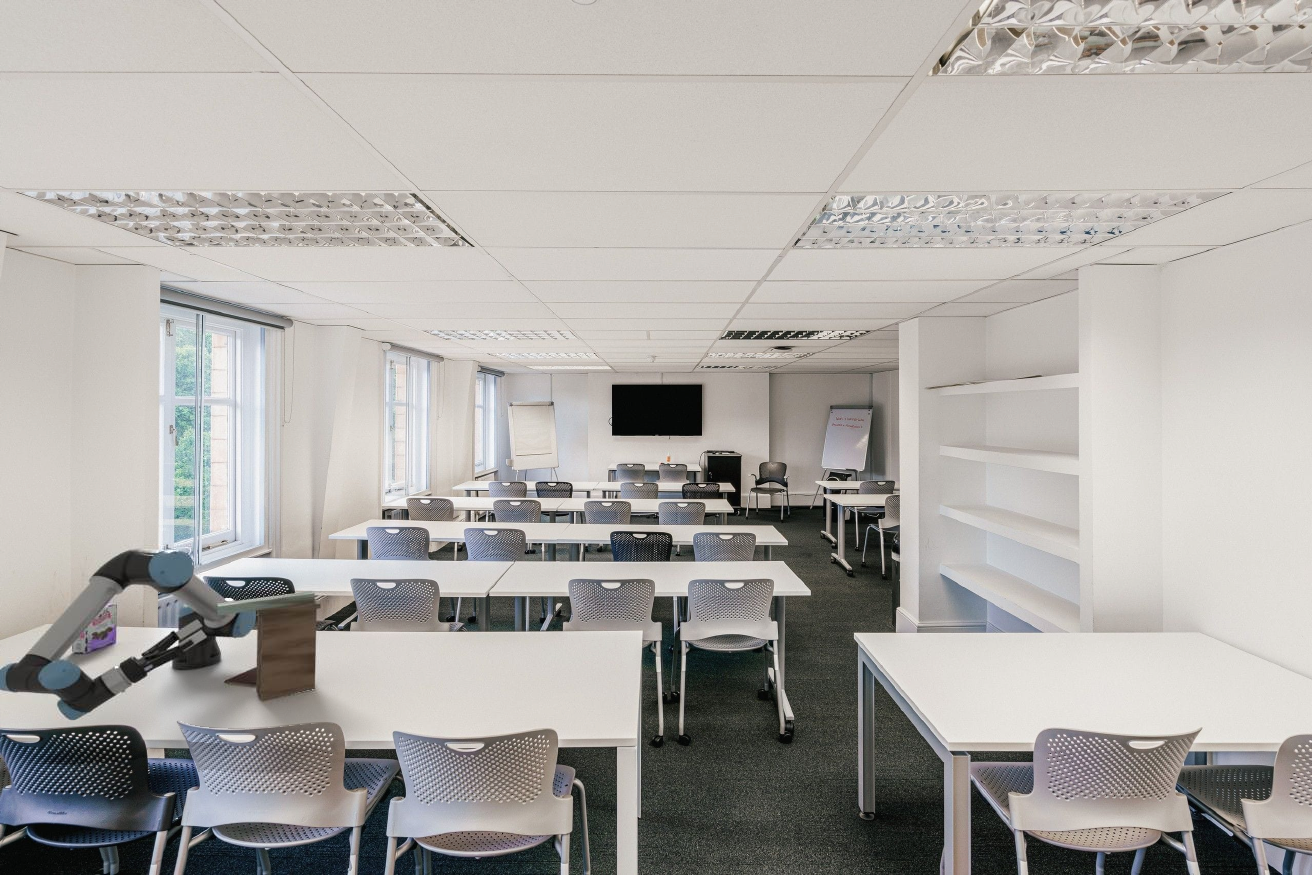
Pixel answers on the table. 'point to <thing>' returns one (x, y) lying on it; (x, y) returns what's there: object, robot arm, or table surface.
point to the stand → (286, 650)
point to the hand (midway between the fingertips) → (202, 627)
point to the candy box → (98, 631)
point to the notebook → (244, 678)
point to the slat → (264, 603)
